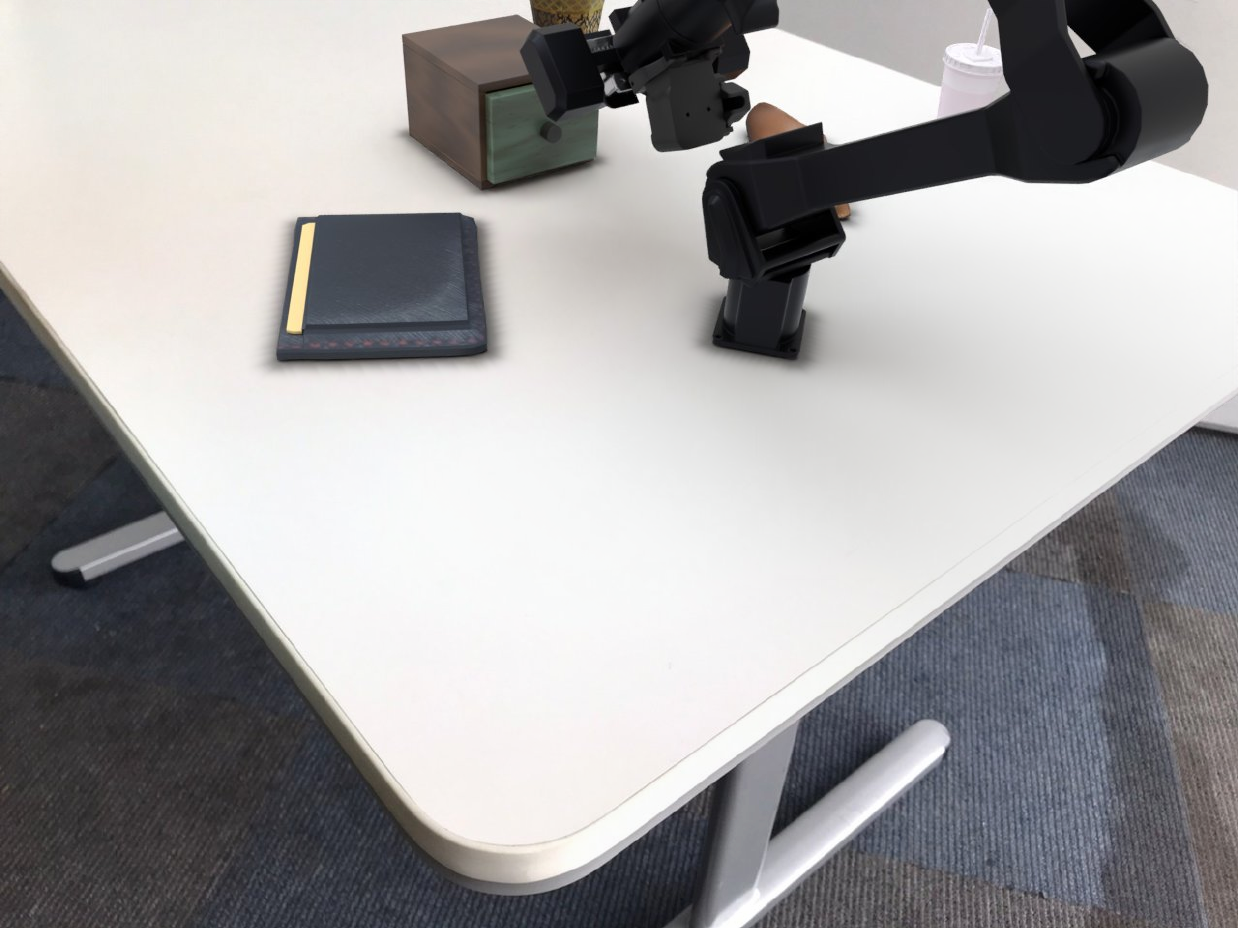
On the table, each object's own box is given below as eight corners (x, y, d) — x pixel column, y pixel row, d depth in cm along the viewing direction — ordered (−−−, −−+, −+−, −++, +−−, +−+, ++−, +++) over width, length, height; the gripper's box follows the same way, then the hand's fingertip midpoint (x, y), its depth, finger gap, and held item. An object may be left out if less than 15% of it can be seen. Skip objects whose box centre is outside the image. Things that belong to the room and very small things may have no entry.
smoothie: (912, 152, 104) (950, 9, 95) (928, 130, 109) (966, -8, 99) (974, 168, 102) (1019, 24, 93) (988, 145, 107) (1032, 6, 97)
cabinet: (594, 160, 98) (598, 59, 92) (481, 190, 92) (478, 84, 86) (517, 110, 106) (517, 14, 100) (409, 134, 100) (401, 34, 94)
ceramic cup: (623, 49, 121) (628, -41, 115) (576, 73, 115) (579, -21, 108) (534, 24, 126) (534, -64, 119) (484, 45, 119) (482, -47, 113)
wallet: (487, 335, 72) (263, 339, 70) (487, 357, 73) (267, 362, 71) (480, 201, 86) (295, 202, 84) (481, 222, 88) (299, 222, 86)
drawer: (604, 162, 96) (608, 79, 91) (500, 190, 90) (499, 104, 85) (524, 110, 104) (525, 32, 99) (425, 133, 98) (420, 51, 93)
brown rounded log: (858, 216, 92) (833, 153, 88) (785, 248, 94) (757, 189, 90) (824, 133, 105) (801, 75, 101) (761, 163, 107) (736, 108, 103)
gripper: (629, 141, 67) (536, 223, 80) (828, 88, 76) (714, 170, 89) (563, -20, 66) (480, 90, 80) (772, -54, 75) (665, 51, 89)
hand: (592, 104), depth 84 cm, fingers closed
